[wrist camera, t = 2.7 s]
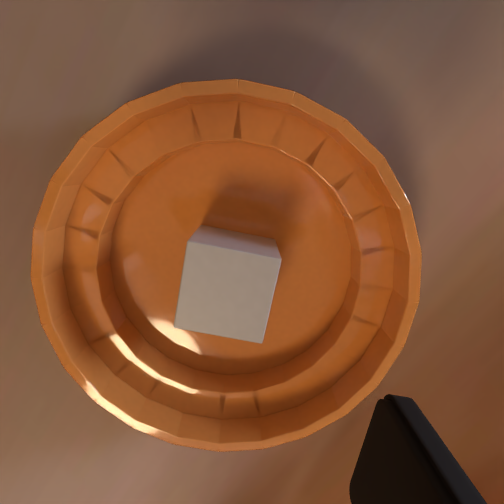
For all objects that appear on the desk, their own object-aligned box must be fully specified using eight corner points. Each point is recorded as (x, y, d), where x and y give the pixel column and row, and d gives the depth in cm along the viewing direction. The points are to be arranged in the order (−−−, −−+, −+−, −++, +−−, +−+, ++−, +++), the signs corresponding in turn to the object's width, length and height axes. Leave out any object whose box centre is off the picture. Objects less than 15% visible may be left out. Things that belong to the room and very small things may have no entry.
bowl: (428, 137, 20) (477, 130, 16) (341, 420, 25) (361, 475, 20) (89, 64, 19) (42, 35, 15) (64, 372, 24) (22, 420, 19)
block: (275, 239, 21) (282, 259, 16) (260, 308, 22) (262, 344, 18) (200, 224, 21) (186, 240, 16) (188, 295, 22) (172, 328, 17)
